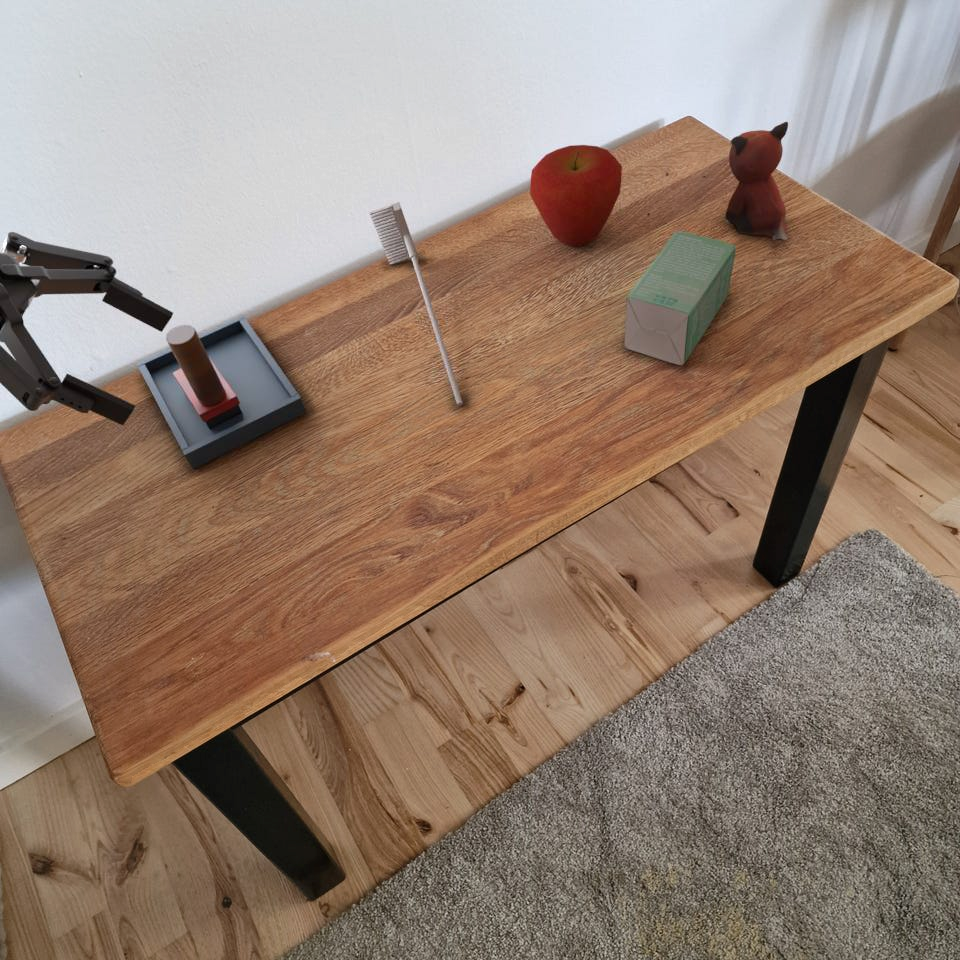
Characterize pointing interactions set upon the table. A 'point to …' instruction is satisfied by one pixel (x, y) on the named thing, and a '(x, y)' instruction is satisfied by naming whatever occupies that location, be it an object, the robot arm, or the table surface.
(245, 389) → the tray
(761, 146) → the stuffed fox
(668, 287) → the box
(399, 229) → the brush
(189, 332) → the brown cylinder on base
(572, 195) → the apple
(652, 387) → the table surface
